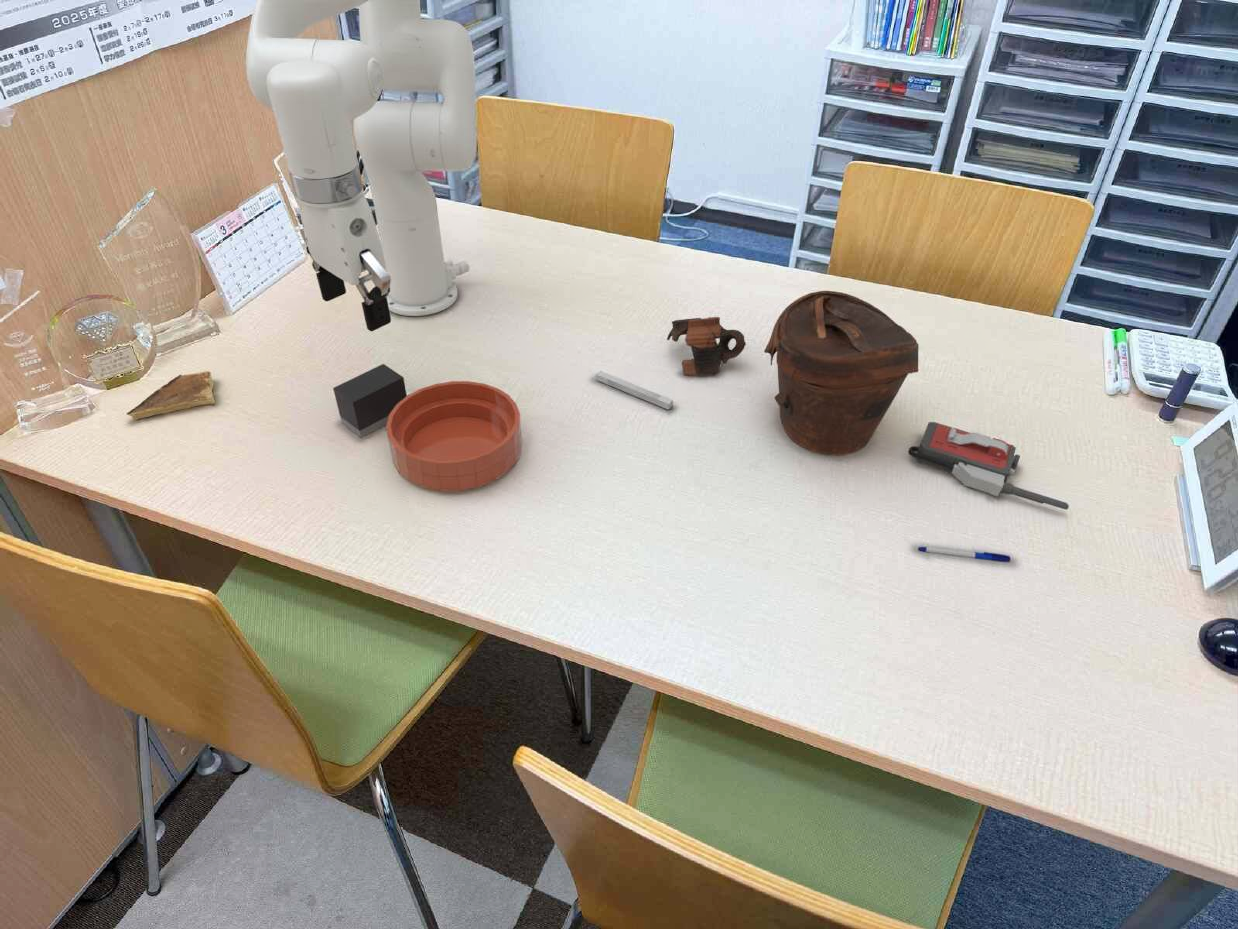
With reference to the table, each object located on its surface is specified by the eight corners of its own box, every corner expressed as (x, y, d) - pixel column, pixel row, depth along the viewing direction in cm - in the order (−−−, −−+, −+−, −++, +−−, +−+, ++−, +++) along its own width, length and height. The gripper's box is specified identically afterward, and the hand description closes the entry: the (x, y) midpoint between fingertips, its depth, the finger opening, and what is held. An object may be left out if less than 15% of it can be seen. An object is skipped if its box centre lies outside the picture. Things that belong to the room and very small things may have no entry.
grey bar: (596, 379, 122) (596, 374, 121) (600, 376, 122) (600, 370, 122) (668, 409, 117) (668, 404, 116) (672, 405, 117) (673, 400, 117)
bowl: (466, 398, 118) (463, 366, 114) (548, 451, 109) (546, 418, 106) (367, 452, 108) (359, 420, 105) (448, 515, 100) (442, 481, 96)
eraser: (390, 398, 117) (383, 363, 113) (409, 412, 115) (403, 377, 111) (341, 423, 113) (332, 387, 109) (361, 438, 111) (352, 402, 107)
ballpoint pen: (1008, 558, 97) (1010, 552, 96) (1009, 563, 96) (1012, 558, 96) (917, 549, 98) (919, 543, 97) (918, 554, 97) (920, 548, 97)
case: (787, 371, 125) (808, 263, 113) (915, 420, 116) (951, 309, 104) (729, 430, 114) (745, 317, 102) (865, 489, 105) (900, 373, 93)
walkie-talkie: (901, 468, 108) (1063, 520, 102) (910, 443, 105) (1077, 494, 99) (916, 432, 114) (1069, 479, 108) (924, 406, 111) (1083, 453, 105)
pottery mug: (663, 377, 124) (659, 322, 122) (679, 370, 132) (675, 319, 131) (742, 373, 119) (739, 316, 118) (754, 366, 128) (751, 313, 127)
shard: (130, 422, 112) (125, 412, 111) (132, 391, 117) (127, 381, 116) (215, 405, 115) (211, 395, 114) (213, 376, 120) (210, 366, 119)
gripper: (400, 195, 91) (422, 326, 102) (313, 150, 99) (343, 275, 111) (342, 217, 87) (372, 351, 98) (256, 168, 95) (293, 297, 107)
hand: (356, 311), depth 105 cm, fingers open, 9 cm apart
